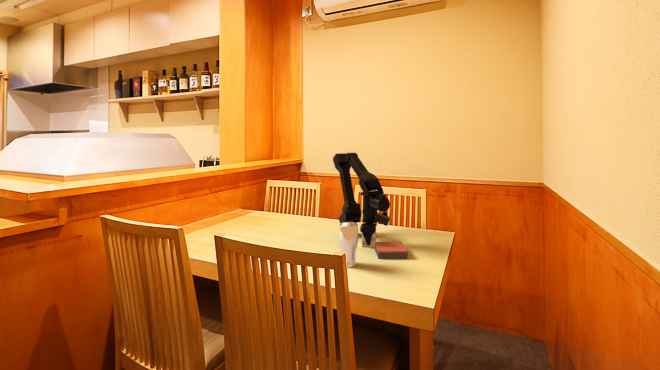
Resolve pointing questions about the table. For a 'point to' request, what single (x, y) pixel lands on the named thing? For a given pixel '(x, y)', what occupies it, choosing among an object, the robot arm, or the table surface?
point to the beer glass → (349, 241)
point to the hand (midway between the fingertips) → (369, 242)
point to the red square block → (391, 250)
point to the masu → (372, 243)
